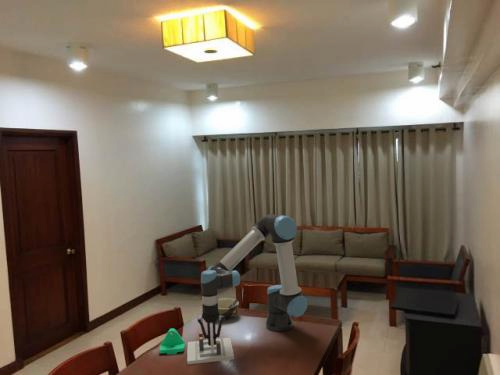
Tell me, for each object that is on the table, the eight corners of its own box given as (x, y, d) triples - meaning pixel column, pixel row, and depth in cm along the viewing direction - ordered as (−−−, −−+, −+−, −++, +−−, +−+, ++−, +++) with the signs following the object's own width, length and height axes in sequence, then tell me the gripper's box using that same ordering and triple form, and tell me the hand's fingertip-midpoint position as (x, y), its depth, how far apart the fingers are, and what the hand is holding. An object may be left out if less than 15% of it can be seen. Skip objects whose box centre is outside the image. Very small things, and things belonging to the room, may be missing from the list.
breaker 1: (203, 347, 210) (202, 336, 210) (203, 349, 208) (203, 339, 207) (199, 347, 210) (198, 337, 210) (199, 349, 207) (199, 339, 207)
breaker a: (203, 341, 217) (202, 331, 217) (203, 343, 215) (202, 333, 214) (199, 341, 217) (198, 331, 217) (199, 344, 214) (198, 333, 214)
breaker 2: (220, 351, 204) (220, 340, 204) (221, 353, 202) (220, 343, 201) (216, 352, 204) (216, 341, 204) (216, 354, 202) (216, 343, 201)
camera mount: (159, 355, 209) (158, 335, 208) (161, 349, 216) (160, 329, 216) (184, 353, 210) (182, 333, 209) (185, 346, 217) (183, 327, 217)
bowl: (207, 323, 248) (206, 307, 248) (214, 312, 266) (213, 297, 265) (236, 323, 245) (235, 307, 245) (242, 312, 263) (241, 297, 262)
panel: (230, 340, 222) (229, 337, 222) (234, 359, 200) (233, 355, 200) (187, 345, 219) (187, 341, 219) (187, 364, 197) (187, 360, 197)
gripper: (223, 299, 206) (225, 346, 207) (196, 302, 204) (198, 349, 205) (224, 304, 198) (226, 353, 200) (196, 307, 197) (199, 356, 198)
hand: (212, 351), depth 203 cm, fingers closed
